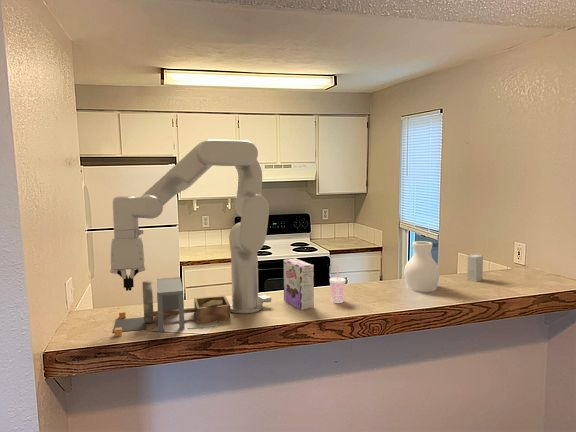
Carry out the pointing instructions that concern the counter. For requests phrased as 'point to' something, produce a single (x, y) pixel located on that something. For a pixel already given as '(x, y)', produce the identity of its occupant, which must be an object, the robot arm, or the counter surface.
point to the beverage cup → (337, 289)
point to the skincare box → (475, 268)
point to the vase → (422, 269)
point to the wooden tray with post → (201, 313)
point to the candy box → (299, 283)
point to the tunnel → (166, 300)
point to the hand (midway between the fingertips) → (128, 289)
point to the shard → (212, 303)
